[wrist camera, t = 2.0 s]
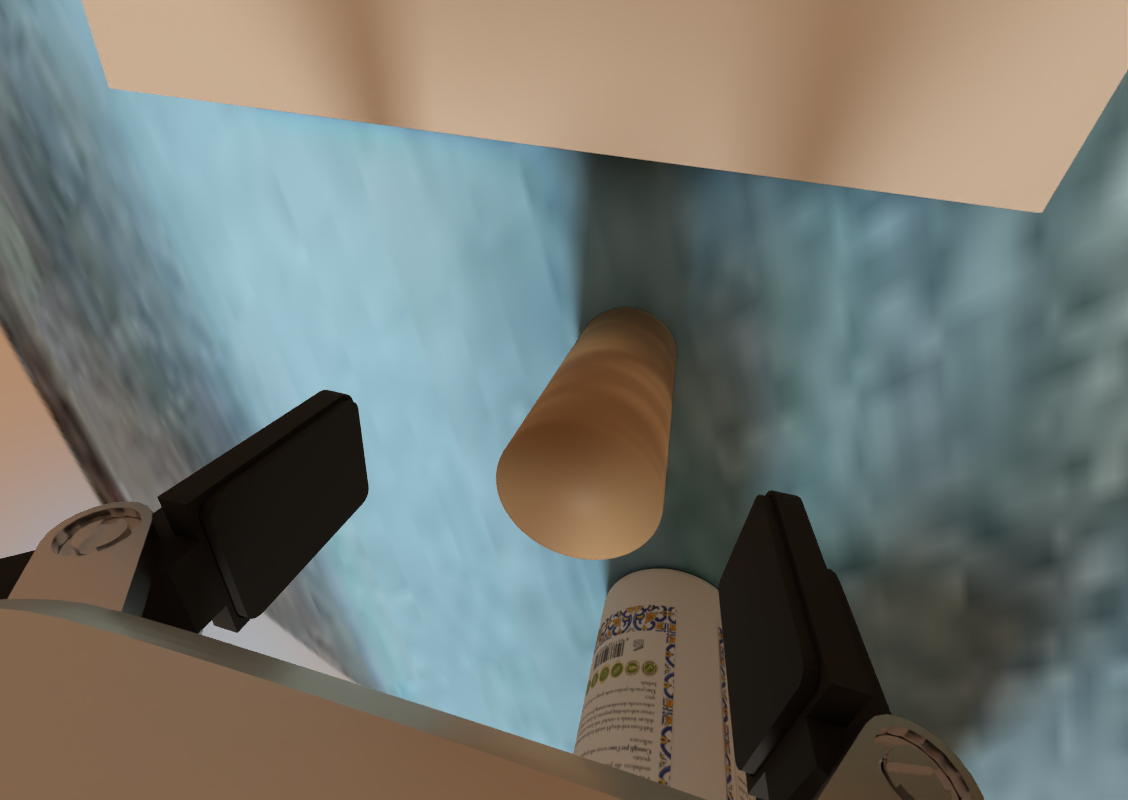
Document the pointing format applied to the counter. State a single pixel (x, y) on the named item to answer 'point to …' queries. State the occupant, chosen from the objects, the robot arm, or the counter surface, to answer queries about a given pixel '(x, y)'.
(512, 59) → the hole block
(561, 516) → the oak pin
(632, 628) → the bath foam
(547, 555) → the counter surface
